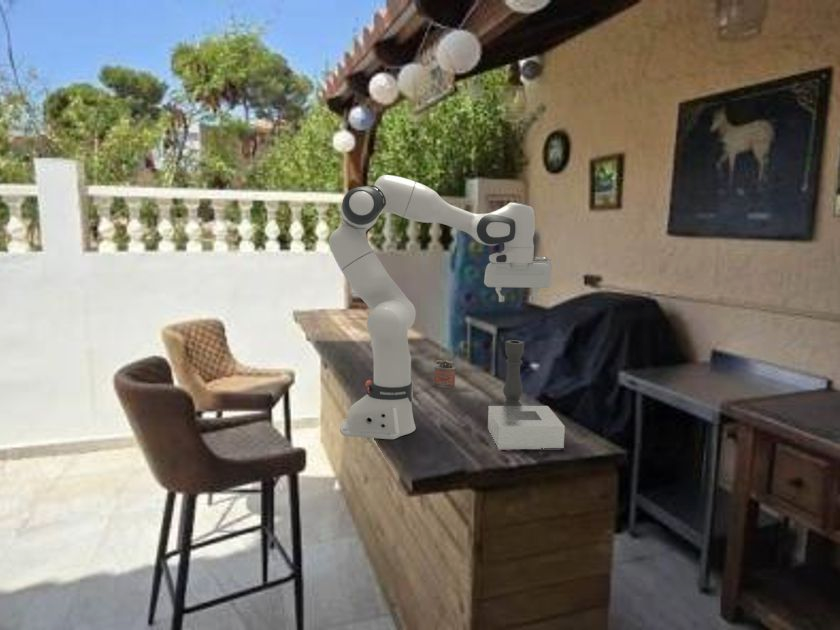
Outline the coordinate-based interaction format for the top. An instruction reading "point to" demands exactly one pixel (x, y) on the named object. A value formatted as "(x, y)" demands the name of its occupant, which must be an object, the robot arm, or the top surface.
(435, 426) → the top surface
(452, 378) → the lighter
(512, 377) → the candle holder
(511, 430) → the sleeve block
